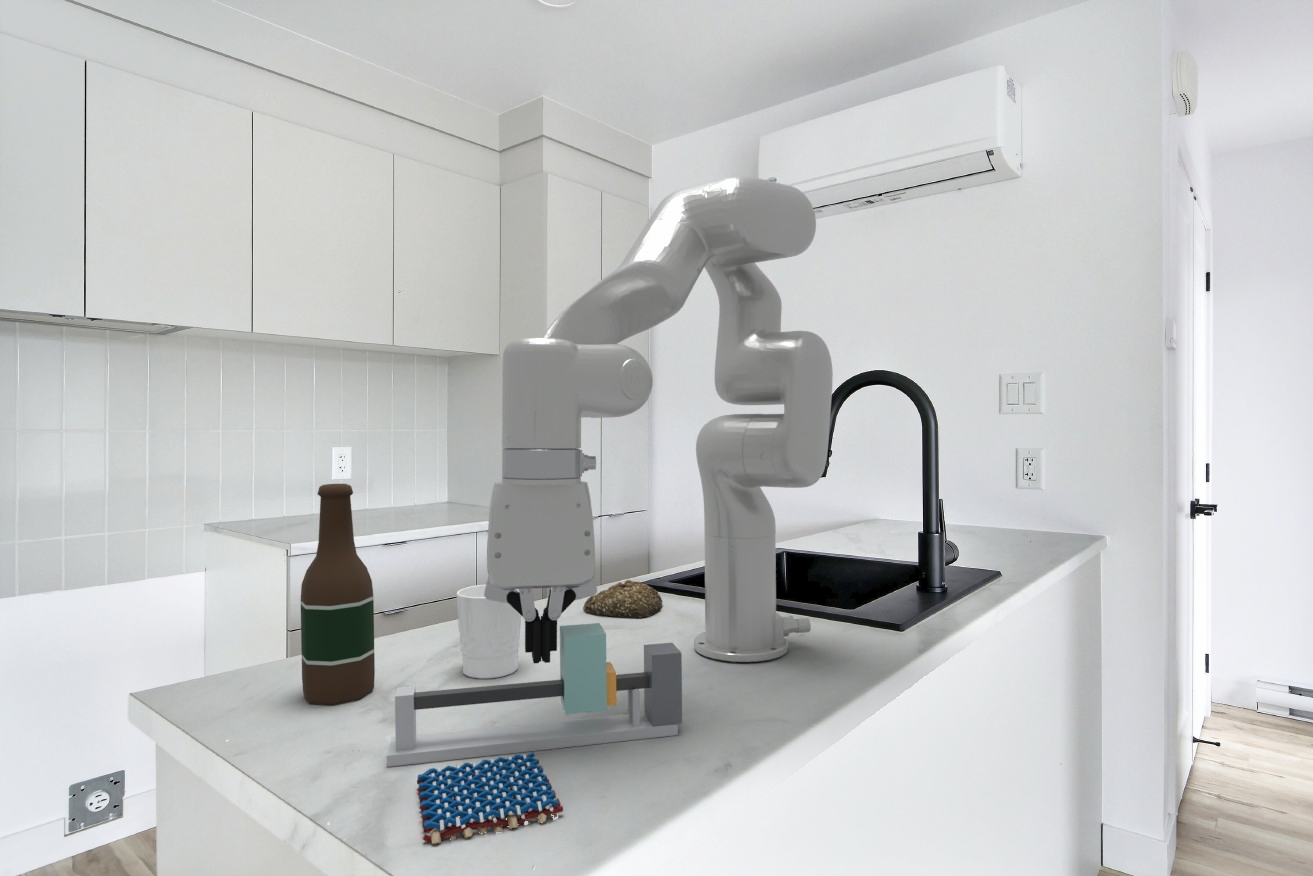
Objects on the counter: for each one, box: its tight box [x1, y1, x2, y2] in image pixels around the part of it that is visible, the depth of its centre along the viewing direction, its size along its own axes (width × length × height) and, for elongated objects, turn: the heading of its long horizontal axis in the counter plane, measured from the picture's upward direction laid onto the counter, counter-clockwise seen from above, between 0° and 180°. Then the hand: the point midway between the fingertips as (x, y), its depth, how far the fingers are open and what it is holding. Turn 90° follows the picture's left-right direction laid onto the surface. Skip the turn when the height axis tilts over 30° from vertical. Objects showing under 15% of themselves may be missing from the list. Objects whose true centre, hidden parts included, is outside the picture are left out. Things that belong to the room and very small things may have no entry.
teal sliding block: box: [559, 622, 608, 716], centre depth 73 cm, size 4×4×7 cm
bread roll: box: [582, 579, 663, 619], centre depth 125 cm, size 13×12×5 cm
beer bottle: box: [300, 483, 376, 706], centre depth 86 cm, size 8×8×24 cm
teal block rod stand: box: [386, 642, 683, 768], centre depth 73 cm, size 28×4×8 cm, turn 103°
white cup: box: [456, 584, 522, 680], centre depth 94 cm, size 8×8×10 cm
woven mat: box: [416, 751, 564, 845], centre depth 61 cm, size 10×11×2 cm
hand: (540, 658), depth 72 cm, fingers closed
